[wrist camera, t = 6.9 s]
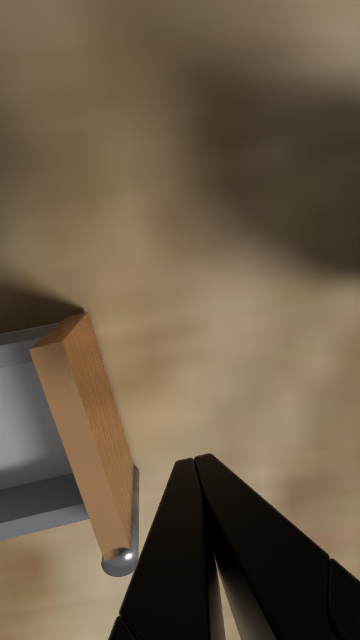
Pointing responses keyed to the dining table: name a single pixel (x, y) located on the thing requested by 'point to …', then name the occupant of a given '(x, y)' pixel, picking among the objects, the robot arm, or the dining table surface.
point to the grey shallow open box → (31, 446)
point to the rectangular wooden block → (92, 437)
